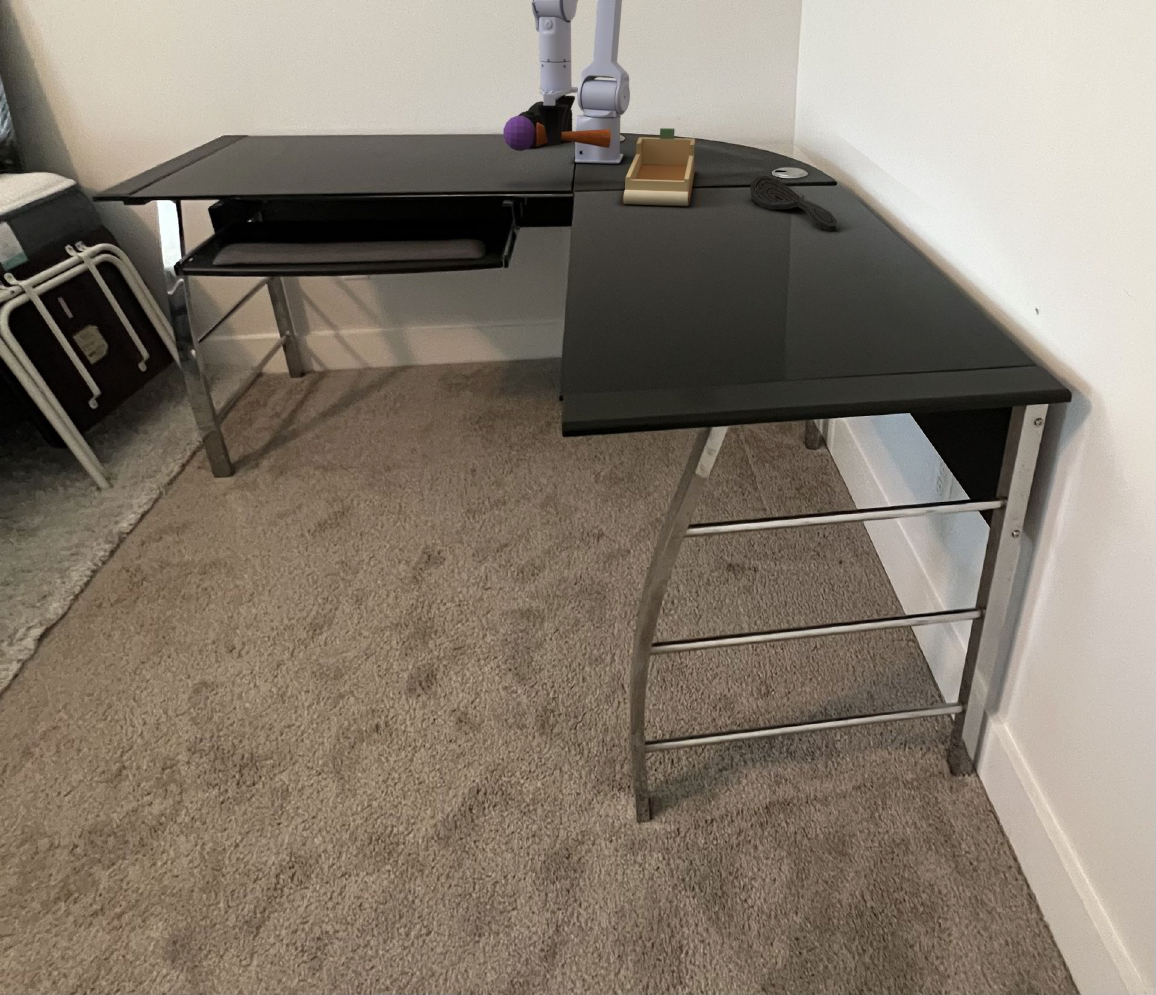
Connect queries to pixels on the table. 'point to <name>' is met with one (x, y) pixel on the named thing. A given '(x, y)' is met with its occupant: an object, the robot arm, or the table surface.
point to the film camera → (541, 122)
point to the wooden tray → (661, 171)
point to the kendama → (523, 134)
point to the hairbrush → (788, 200)
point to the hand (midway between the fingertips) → (556, 141)
